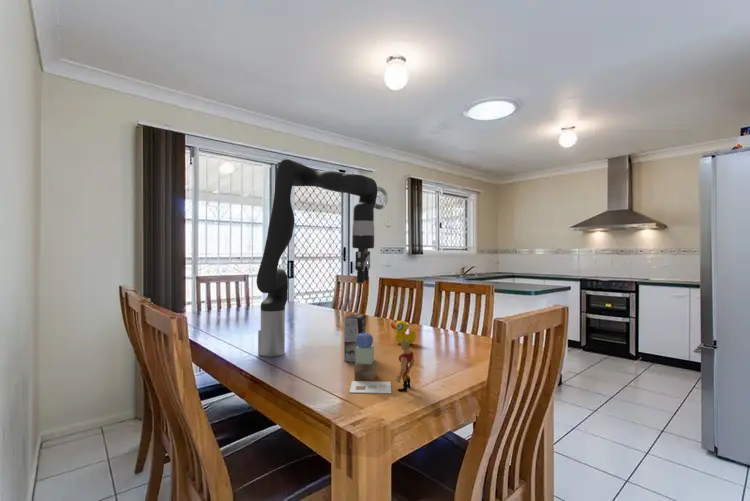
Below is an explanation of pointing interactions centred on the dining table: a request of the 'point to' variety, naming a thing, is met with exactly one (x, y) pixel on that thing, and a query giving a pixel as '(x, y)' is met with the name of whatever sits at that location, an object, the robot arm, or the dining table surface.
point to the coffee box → (353, 334)
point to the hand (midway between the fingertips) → (362, 281)
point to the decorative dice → (364, 340)
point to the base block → (365, 371)
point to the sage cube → (365, 355)
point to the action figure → (405, 364)
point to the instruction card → (370, 387)
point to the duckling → (402, 328)
